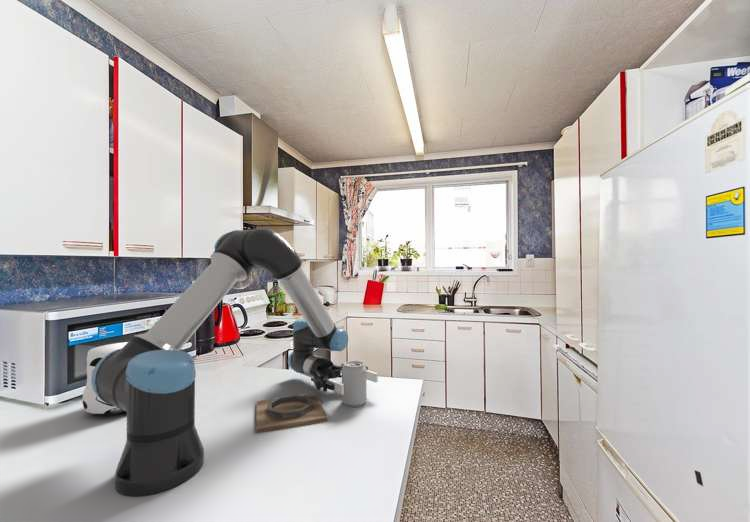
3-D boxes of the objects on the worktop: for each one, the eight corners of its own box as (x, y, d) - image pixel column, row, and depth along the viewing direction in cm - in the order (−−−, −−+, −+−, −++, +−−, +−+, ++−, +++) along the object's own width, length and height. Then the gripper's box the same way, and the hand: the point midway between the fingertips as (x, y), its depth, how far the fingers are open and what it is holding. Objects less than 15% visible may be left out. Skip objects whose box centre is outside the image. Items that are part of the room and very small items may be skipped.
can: (371, 402, 101) (371, 362, 101) (353, 410, 95) (353, 368, 95) (354, 395, 106) (354, 358, 106) (336, 403, 100) (336, 363, 100)
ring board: (327, 420, 89) (327, 411, 89) (256, 432, 83) (256, 422, 83) (316, 396, 106) (316, 388, 106) (256, 404, 100) (256, 396, 100)
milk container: (109, 425, 87) (110, 356, 88) (67, 416, 93) (67, 351, 93) (169, 400, 104) (169, 342, 104) (130, 393, 109) (130, 339, 110)
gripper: (347, 371, 122) (389, 385, 107) (286, 388, 105) (326, 409, 90) (347, 350, 123) (388, 362, 107) (286, 365, 105) (326, 381, 90)
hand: (360, 383), depth 99 cm, fingers open, 13 cm apart
